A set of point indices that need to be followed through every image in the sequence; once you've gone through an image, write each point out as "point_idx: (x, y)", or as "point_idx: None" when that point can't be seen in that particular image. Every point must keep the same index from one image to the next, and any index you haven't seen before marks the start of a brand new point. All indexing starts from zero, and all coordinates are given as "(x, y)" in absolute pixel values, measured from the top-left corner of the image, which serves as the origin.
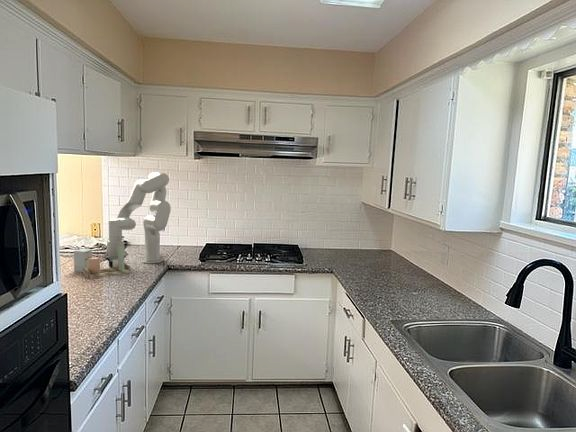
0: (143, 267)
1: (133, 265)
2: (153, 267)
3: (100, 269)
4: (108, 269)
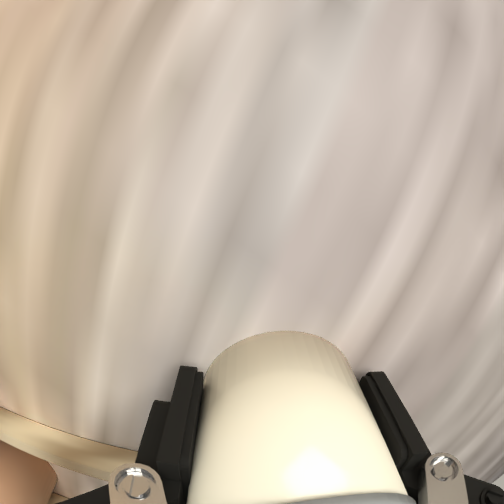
0: (468, 457)
1: (494, 369)
2: (491, 464)
3: (40, 455)
4: None
